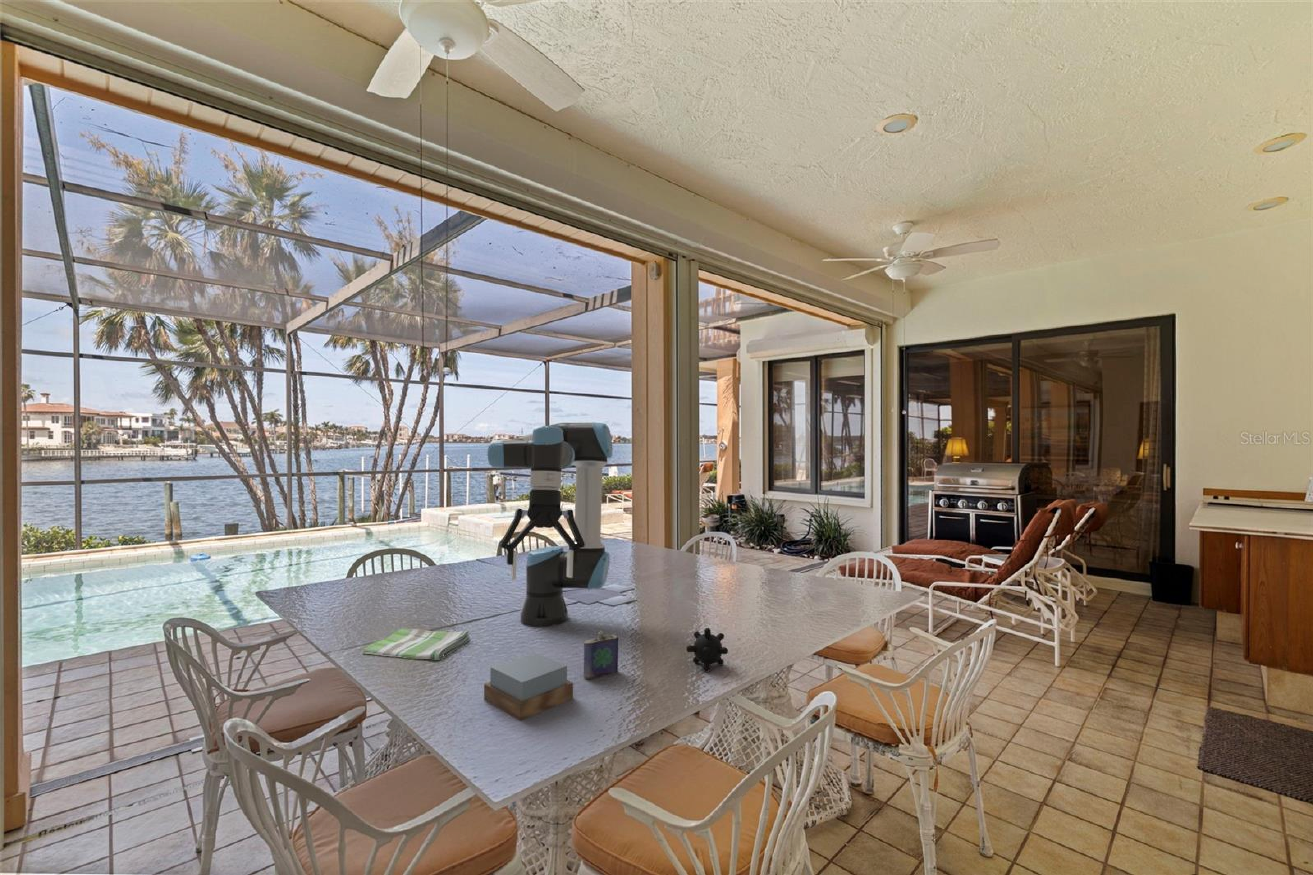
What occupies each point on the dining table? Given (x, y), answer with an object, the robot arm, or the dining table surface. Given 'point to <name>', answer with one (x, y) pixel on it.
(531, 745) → the dining table surface
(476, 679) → the dining table surface
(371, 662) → the dining table surface
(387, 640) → the dish towel
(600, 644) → the flask
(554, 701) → the tower base block
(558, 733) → the dining table surface
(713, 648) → the toy ball
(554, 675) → the tower top block
